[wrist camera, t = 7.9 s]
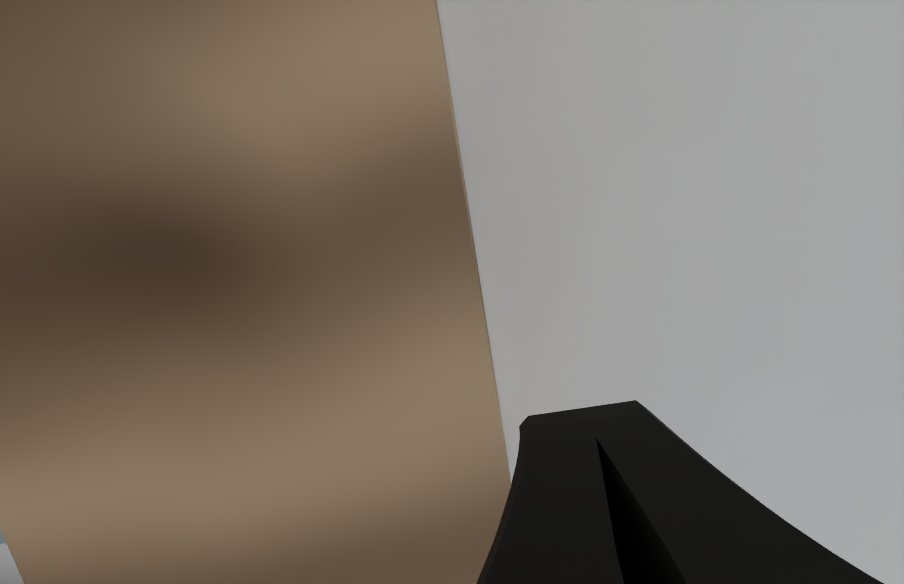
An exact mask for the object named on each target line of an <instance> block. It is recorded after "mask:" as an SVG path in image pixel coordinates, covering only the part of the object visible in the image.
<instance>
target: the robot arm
mask: <svg viewBox="0 0 904 584" xmlns="http://www.w3.org/2000/svg"><path fill="white" fill-rule="evenodd" d="M519 429H520V442H519V451H518V457H517V463H516V467H515V472H514V476H513V480H512V484H511V488H510V491H509V495H508V498H507V501H506V504H505V508H504V511H503V514H502V517H501V520H500V524H499V527H498V530H497V533H496V536H495V538H494V541H493V544H492V546H491V549H490V551H489V554H488V556H487V559H486V561H485V564H484V566H483V568H482V571H481V573H480V576H479V578H478V581H477V583H476V584H883V583H882V582H880V581H878V580H876V579H875V578H873V577H871V576H869V575H868V574H866V573H864V572H863V571H861V570H860V569H858V568H856V567H855V566H853V565H851V564H850V563H848V562H847V561H845V560H843V559H842V558H840V557H839V556H837V555H835V554H834V553H832V552H831V551H829V550H828V549H826V548H825V547H823V546H822V545H820V544H819V543H817V542H816V541H814V540H813V539H811V538H810V537H808V536H807V535H806V534H804V533H803V532H801V531H800V530H798V529H797V528H795V527H794V526H792V525H791V524H789V523H788V522H786V521H785V520H784V519H782V518H781V517H780V516H778V515H777V514H775V513H774V512H773V511H771V510H770V509H768V508H767V507H766V506H764V505H763V504H762V503H760V502H759V501H758V500H757V499H755V498H754V497H753V496H751V495H750V494H749V493H747V492H746V491H745V490H744V489H742V488H741V487H740V486H738V485H737V484H736V483H735V482H733V481H732V480H731V479H729V478H728V477H727V476H725V475H724V474H723V473H722V472H720V471H719V470H718V469H717V468H715V467H714V466H713V465H712V464H710V463H709V462H708V461H707V460H706V459H704V458H703V457H702V456H701V455H700V454H698V453H697V452H696V451H695V450H694V449H693V448H691V447H690V446H689V445H688V444H687V443H685V442H684V441H683V440H682V439H681V438H680V437H678V436H677V435H676V434H675V433H674V432H673V431H672V430H670V429H669V428H668V427H667V426H666V425H665V424H664V423H662V422H661V421H660V420H659V419H658V418H657V417H656V416H655V415H653V414H652V413H651V412H650V411H649V410H648V409H646V408H645V407H644V406H643V405H641V404H640V403H639V402H637V401H636V400H635V401H628V402H621V403H614V404H607V405H601V406H594V407H587V408H580V409H573V410H566V411H559V412H552V413H545V414H538V415H532V416H528V417H527V418H526V419H525V420H524V421H523V423H522V424H521V425H520V426H519Z"/></svg>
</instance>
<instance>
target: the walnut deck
mask: <svg viewBox="0 0 904 584" xmlns="http://www.w3.org/2000/svg"><path fill="white" fill-rule="evenodd" d="M510 488H511V479H510V472H509V465H508V459H507V452H506V446H505V439H504V433H503V426H502V420H501V413H500V407H499V401H498V394H497V388H496V381H495V375H494V368H493V362H492V355H491V349H490V343H489V336H488V330H487V323H486V317H485V310H484V304H483V297H482V291H481V285H480V278H479V272H478V265H477V259H476V252H475V246H474V239H473V233H472V227H471V220H470V214H469V207H468V201H467V194H466V188H465V182H464V175H463V169H462V162H461V156H460V149H459V143H458V136H457V130H456V124H455V117H454V111H453V104H452V98H451V91H450V85H449V78H448V72H447V66H446V59H445V53H444V46H443V40H442V33H441V27H440V20H439V14H438V8H437V1H436V0H0V530H1V532H2V534H3V536H4V539H5V541H6V543H7V545H8V548H9V550H10V552H11V554H12V557H13V559H14V561H15V563H16V565H17V568H18V570H19V572H20V574H21V577H22V579H23V581H24V583H25V584H476V583H477V581H478V578H479V576H480V573H481V571H482V568H483V566H484V564H485V561H486V559H487V556H488V554H489V551H490V549H491V546H492V544H493V541H494V538H495V536H496V533H497V530H498V527H499V524H500V520H501V517H502V514H503V511H504V508H505V504H506V501H507V498H508V495H509V491H510Z"/></svg>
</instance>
